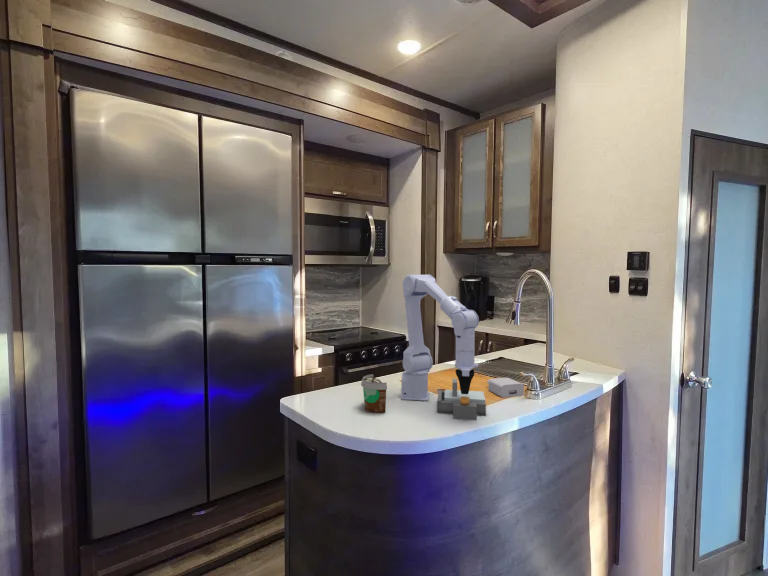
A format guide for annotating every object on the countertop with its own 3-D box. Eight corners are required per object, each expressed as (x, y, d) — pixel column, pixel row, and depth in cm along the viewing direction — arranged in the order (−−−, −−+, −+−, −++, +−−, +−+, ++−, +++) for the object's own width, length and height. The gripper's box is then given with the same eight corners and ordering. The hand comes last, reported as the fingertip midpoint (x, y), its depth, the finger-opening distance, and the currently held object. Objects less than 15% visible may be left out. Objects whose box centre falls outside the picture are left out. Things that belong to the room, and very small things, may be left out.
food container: (355, 404, 133) (355, 375, 132) (372, 402, 135) (372, 373, 135) (369, 417, 121) (368, 385, 121) (387, 414, 124) (387, 382, 123)
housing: (436, 417, 121) (436, 404, 120) (438, 400, 136) (438, 389, 136) (487, 420, 118) (487, 407, 118) (482, 403, 134) (482, 391, 134)
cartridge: (444, 408, 126) (444, 383, 125) (444, 399, 134) (444, 376, 134) (485, 410, 123) (485, 385, 123) (483, 401, 132) (483, 378, 132)
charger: (500, 385, 156) (523, 396, 142) (479, 387, 154) (501, 398, 139) (500, 373, 156) (524, 383, 142) (480, 375, 154) (501, 385, 139)
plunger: (460, 404, 120) (460, 398, 120) (460, 401, 123) (460, 396, 122) (469, 404, 119) (469, 399, 119) (469, 401, 122) (469, 396, 122)
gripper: (480, 355, 112) (479, 401, 113) (476, 345, 127) (476, 387, 127) (455, 354, 114) (454, 400, 114) (454, 345, 128) (454, 386, 129)
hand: (464, 393), depth 121 cm, fingers closed
